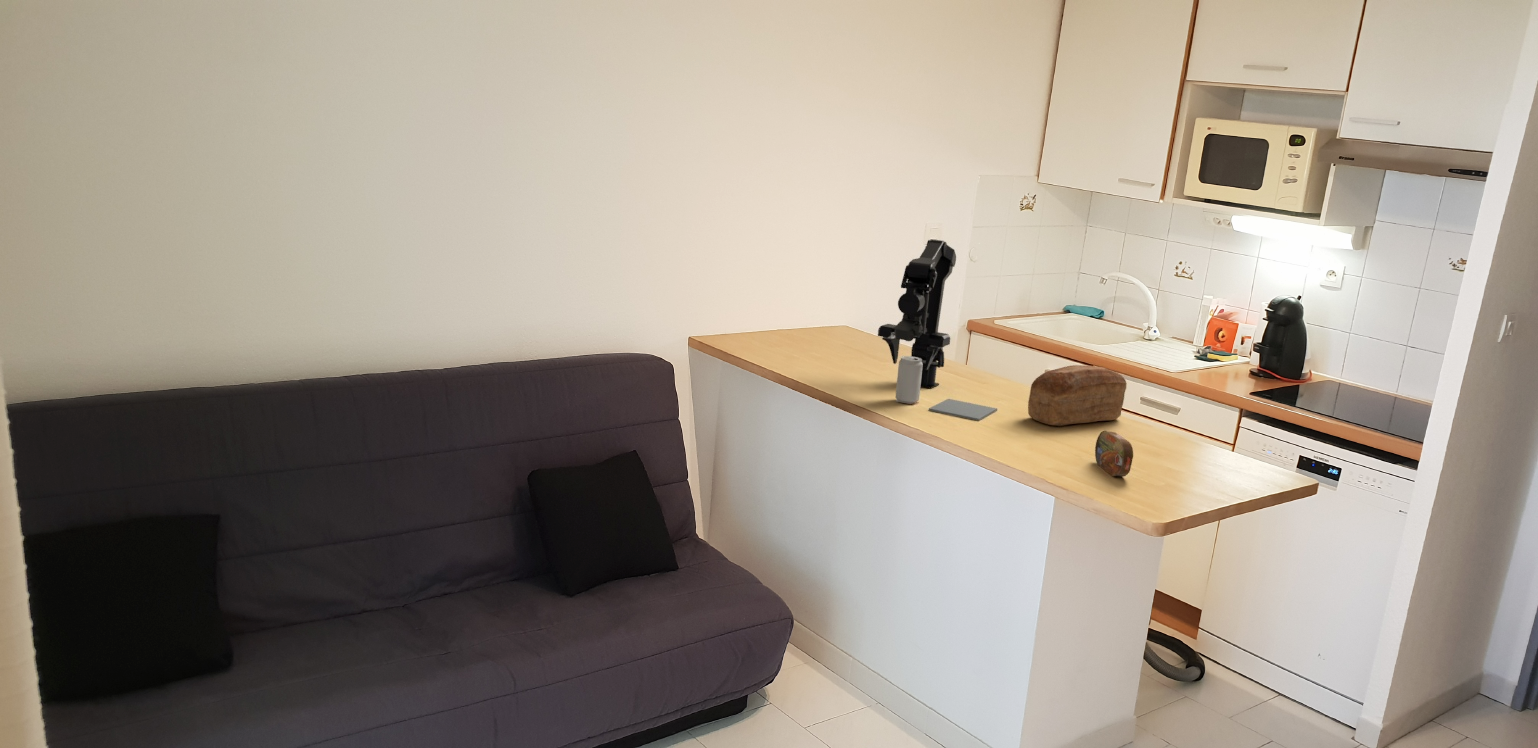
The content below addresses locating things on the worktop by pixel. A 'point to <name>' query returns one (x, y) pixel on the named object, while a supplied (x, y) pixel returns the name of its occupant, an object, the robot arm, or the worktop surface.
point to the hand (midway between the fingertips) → (910, 366)
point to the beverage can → (909, 379)
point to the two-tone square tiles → (908, 403)
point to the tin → (1113, 453)
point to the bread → (1076, 395)
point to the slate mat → (963, 409)
